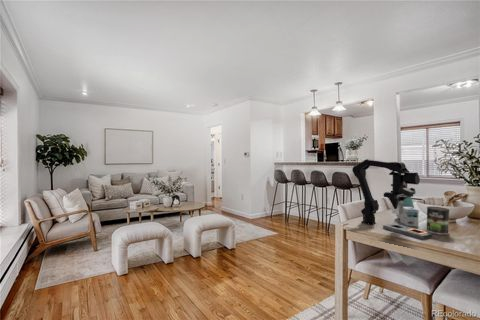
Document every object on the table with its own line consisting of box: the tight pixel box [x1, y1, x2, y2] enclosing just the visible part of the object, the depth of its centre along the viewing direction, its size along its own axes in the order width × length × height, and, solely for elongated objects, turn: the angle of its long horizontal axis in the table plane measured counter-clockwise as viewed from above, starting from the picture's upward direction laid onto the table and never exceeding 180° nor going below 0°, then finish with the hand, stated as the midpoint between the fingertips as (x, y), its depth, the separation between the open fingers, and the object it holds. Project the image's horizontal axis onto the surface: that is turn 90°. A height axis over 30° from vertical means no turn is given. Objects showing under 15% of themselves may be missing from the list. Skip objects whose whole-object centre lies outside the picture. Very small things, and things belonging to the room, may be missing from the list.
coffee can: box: [426, 206, 450, 236], centre depth 143 cm, size 10×10×14 cm
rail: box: [382, 223, 434, 241], centre depth 142 cm, size 22×10×2 cm, turn 26°
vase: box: [395, 195, 416, 220], centre depth 171 cm, size 12×12×18 cm
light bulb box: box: [399, 206, 420, 228], centre depth 159 cm, size 11×7×11 cm, turn 168°
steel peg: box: [391, 200, 403, 215], centre depth 146 cm, size 4×4×8 cm
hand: (397, 208), depth 146 cm, fingers closed on steel peg, 4 cm apart
